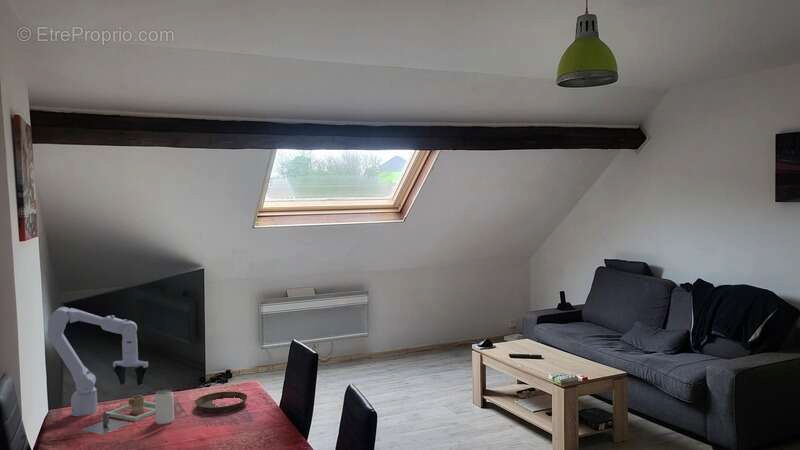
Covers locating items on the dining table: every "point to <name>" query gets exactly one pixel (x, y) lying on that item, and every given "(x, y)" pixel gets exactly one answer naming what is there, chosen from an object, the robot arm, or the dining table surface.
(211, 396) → the plant saucer
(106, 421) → the square base plate
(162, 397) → the can
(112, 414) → the tray
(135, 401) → the sleeve
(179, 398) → the dining table surface
